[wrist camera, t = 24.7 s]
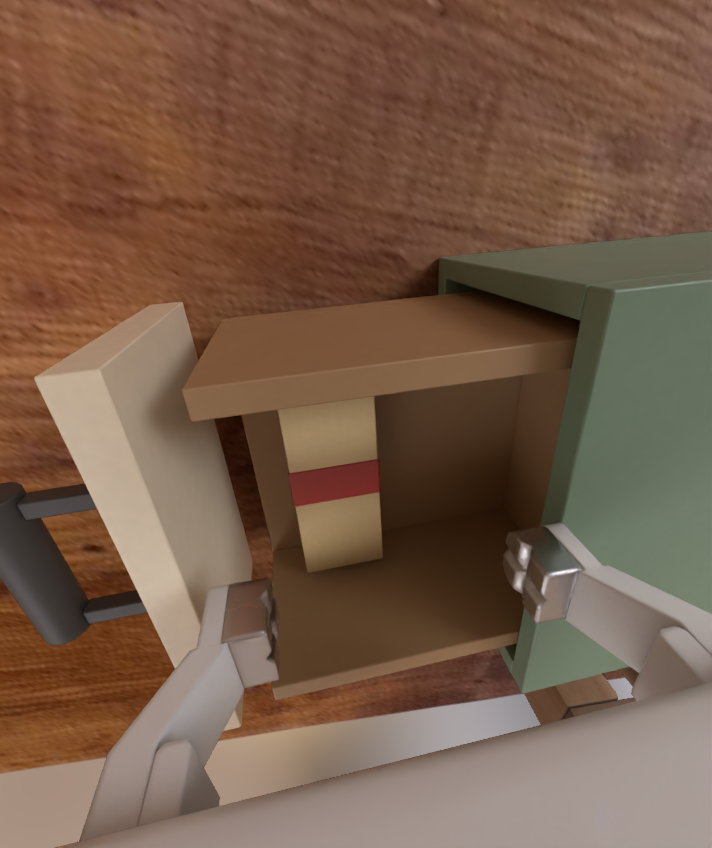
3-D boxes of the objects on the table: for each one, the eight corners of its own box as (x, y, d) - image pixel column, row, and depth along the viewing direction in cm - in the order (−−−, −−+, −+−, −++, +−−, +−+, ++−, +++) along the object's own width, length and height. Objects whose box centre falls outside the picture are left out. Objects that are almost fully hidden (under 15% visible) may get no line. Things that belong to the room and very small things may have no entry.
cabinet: (431, 523, 23) (521, 694, 15) (438, 257, 16) (613, 290, 8) (676, 477, 25) (877, 603, 17) (772, 225, 18) (1193, 223, 10)
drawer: (134, 583, 20) (60, 771, 13) (6, 319, 14) (-265, 412, 7) (503, 513, 22) (603, 639, 16) (537, 265, 16) (729, 293, 9)
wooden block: (500, 597, 27) (806, 1099, 12) (628, 583, 30) (1032, 992, 14) (488, 631, 29) (743, 1114, 13) (610, 616, 31) (954, 1015, 15)
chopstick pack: (372, 521, 19) (384, 559, 17) (302, 534, 19) (306, 574, 17) (360, 346, 15) (375, 367, 13) (271, 357, 15) (270, 380, 13)
